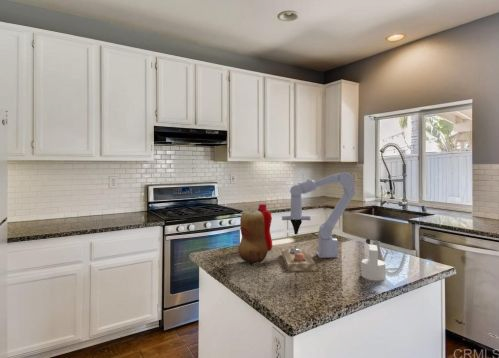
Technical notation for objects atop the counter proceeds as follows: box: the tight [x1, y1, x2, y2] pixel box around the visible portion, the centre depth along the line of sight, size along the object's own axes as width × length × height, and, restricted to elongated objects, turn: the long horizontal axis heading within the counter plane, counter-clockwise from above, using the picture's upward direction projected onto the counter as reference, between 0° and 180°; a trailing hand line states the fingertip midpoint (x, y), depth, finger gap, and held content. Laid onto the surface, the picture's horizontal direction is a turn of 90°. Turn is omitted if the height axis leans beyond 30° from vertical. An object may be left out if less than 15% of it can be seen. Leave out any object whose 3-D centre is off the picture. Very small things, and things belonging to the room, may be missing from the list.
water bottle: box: [256, 203, 273, 251], centre depth 168 cm, size 9×11×25 cm
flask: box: [372, 240, 386, 263], centre depth 142 cm, size 7×7×10 cm
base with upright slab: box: [361, 244, 386, 282], centre depth 124 cm, size 9×9×12 cm
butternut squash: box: [238, 209, 269, 265], centre depth 143 cm, size 14×13×25 cm
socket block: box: [281, 248, 316, 272], centre depth 144 cm, size 12×24×3 cm, turn 0°
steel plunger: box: [290, 247, 300, 254], centre depth 150 cm, size 4×4×4 cm
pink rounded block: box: [295, 253, 304, 261], centre depth 138 cm, size 4×4×4 cm
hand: (295, 233), depth 158 cm, fingers closed
